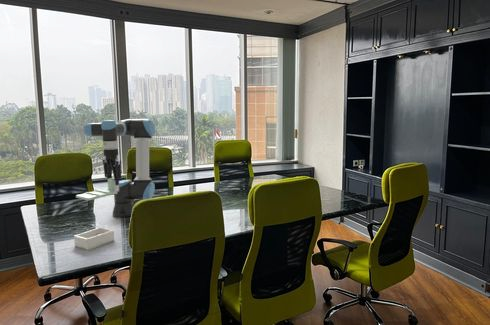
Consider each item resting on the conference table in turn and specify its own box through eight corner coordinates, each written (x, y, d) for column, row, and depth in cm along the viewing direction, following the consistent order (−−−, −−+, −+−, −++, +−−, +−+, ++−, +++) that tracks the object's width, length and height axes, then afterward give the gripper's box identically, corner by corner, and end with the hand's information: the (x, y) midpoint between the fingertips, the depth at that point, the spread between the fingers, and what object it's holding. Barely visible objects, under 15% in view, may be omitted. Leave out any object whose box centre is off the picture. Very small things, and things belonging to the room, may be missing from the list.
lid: (76, 197, 193) (74, 183, 192) (110, 189, 210) (109, 176, 209) (89, 200, 187) (87, 186, 186) (123, 191, 204) (122, 178, 203)
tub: (75, 246, 193) (74, 235, 192) (101, 237, 206) (101, 227, 205) (87, 250, 187) (86, 239, 186) (114, 241, 200) (113, 230, 199)
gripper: (95, 148, 203) (98, 189, 207) (114, 150, 194) (118, 193, 198) (106, 147, 210) (110, 187, 213) (126, 148, 200) (129, 190, 204)
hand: (113, 190), depth 206 cm, fingers closed on lid, 4 cm apart
